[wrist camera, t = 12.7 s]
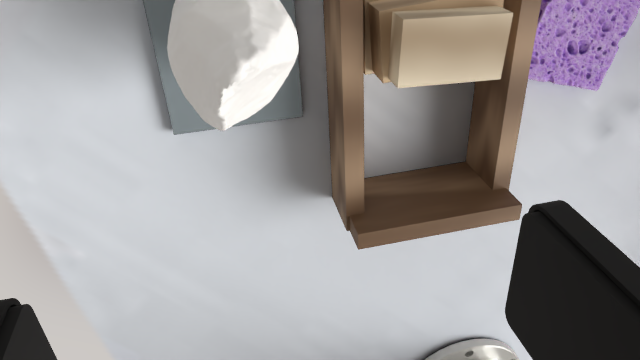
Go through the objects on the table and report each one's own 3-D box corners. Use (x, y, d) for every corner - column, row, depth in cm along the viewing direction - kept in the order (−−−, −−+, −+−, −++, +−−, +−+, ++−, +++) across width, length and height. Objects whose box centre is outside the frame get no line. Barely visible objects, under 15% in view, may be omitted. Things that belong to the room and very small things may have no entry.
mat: (301, 112, 33) (302, 116, 33) (174, 130, 32) (173, 134, 31) (280, -145, 26) (282, -145, 25) (113, -135, 24) (112, -134, 24)
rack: (479, 172, 39) (522, 218, 34) (332, 197, 37) (355, 250, 32) (510, -58, 30) (573, -42, 25) (321, -40, 29) (349, -19, 24)
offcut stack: (469, 48, 33) (515, 79, 29) (356, 63, 32) (384, 97, 28) (477, -27, 31) (528, -7, 26) (354, -15, 30) (386, 9, 25)
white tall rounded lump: (281, 186, 21) (139, 142, 18) (249, 80, 31) (155, 43, 28) (350, 50, 18) (199, -19, 16) (292, -17, 28) (193, -65, 26)
